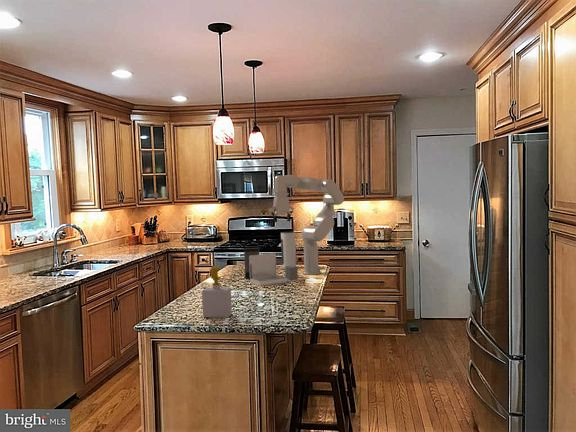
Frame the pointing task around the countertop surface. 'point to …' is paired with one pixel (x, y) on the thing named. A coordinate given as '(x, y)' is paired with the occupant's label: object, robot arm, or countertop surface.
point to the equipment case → (264, 270)
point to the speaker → (288, 249)
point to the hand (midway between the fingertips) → (282, 221)
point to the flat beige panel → (294, 280)
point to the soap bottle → (216, 298)
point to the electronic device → (248, 253)
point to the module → (291, 272)
